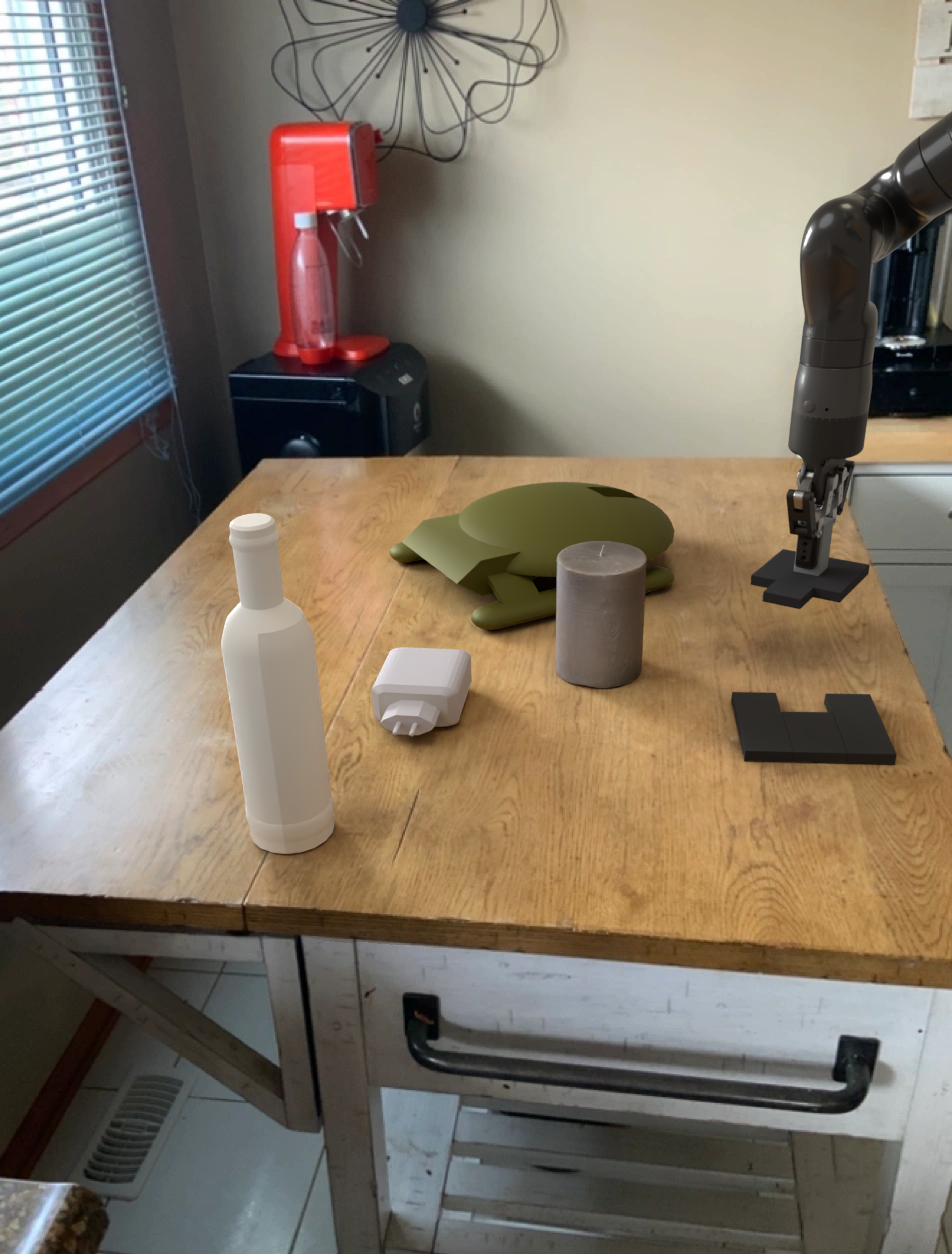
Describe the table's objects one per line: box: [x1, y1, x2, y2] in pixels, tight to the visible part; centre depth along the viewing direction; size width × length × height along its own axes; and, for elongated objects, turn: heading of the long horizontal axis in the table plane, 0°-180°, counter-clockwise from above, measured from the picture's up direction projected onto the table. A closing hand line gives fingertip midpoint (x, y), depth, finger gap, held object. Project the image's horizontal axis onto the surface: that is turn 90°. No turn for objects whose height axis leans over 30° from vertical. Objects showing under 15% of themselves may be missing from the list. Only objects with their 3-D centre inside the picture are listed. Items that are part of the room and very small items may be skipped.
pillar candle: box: [554, 541, 648, 689], centre depth 125 cm, size 10×10×15 cm
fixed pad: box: [730, 691, 898, 766], centre depth 114 cm, size 14×12×1 cm
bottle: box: [220, 512, 335, 855], centre depth 97 cm, size 8×8×30 cm
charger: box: [371, 646, 473, 737], centre depth 120 cm, size 5×9×15 cm
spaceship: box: [389, 481, 675, 631], centre depth 152 cm, size 35×31×10 cm
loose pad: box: [750, 517, 870, 610], centre depth 123 cm, size 10×13×7 cm
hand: (811, 561), depth 125 cm, fingers closed on loose pad, 3 cm apart
